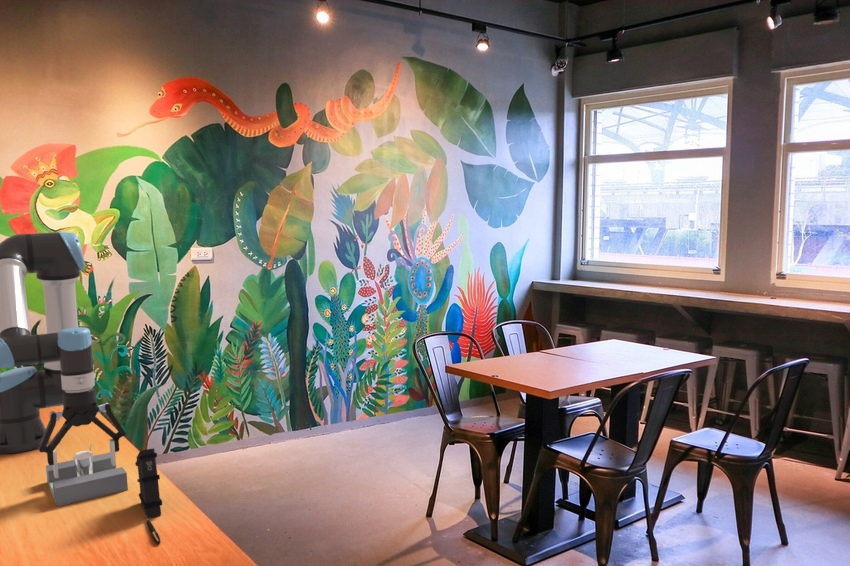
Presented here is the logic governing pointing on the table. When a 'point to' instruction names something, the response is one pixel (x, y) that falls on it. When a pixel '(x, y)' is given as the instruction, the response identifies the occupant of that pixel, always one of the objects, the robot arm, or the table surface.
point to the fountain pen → (153, 532)
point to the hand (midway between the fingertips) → (85, 470)
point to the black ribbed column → (149, 482)
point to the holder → (86, 480)
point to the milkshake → (84, 462)
